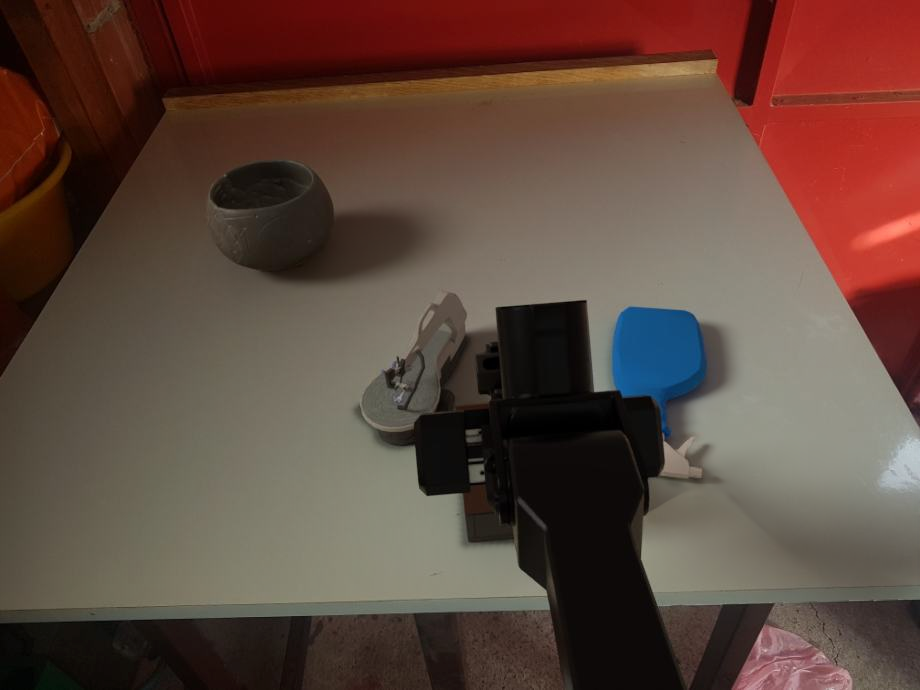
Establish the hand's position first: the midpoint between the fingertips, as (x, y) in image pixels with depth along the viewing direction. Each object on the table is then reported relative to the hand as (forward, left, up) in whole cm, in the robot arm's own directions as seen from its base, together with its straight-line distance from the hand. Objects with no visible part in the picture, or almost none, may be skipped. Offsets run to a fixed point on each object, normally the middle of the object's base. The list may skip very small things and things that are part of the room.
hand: (528, 432), depth 62 cm
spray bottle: (+11, -19, -13) cm, 26 cm away
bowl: (+54, +22, -13) cm, 59 cm away
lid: (0, 0, -3) cm, 3 cm away
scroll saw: (+20, +7, -13) cm, 25 cm away
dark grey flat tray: (+2, 0, -13) cm, 13 cm away
